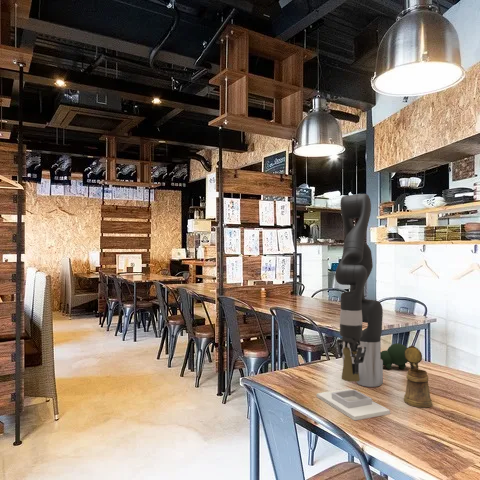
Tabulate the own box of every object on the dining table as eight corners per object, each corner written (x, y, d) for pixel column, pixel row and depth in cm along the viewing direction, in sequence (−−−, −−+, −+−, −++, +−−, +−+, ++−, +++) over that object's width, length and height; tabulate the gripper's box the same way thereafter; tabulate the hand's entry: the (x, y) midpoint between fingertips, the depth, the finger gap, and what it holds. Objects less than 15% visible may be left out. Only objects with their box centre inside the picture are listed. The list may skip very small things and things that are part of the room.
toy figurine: (361, 373, 184) (421, 371, 180) (357, 330, 184) (416, 327, 180) (358, 367, 193) (415, 365, 189) (354, 326, 193) (411, 323, 190)
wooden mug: (424, 394, 154) (424, 345, 154) (435, 408, 140) (434, 355, 140) (399, 393, 155) (399, 344, 155) (407, 406, 142) (407, 353, 142)
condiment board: (348, 391, 156) (348, 383, 156) (390, 413, 136) (390, 404, 136) (316, 396, 151) (316, 387, 151) (354, 420, 131) (354, 410, 131)
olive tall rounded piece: (360, 382, 140) (360, 349, 140) (341, 381, 141) (341, 348, 141) (359, 376, 146) (359, 345, 146) (341, 375, 147) (341, 344, 147)
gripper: (373, 325, 139) (373, 377, 138) (347, 318, 152) (347, 365, 152) (354, 327, 136) (354, 379, 136) (330, 319, 149) (329, 367, 149)
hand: (350, 372), depth 144 cm, fingers closed on olive tall rounded piece, 4 cm apart
